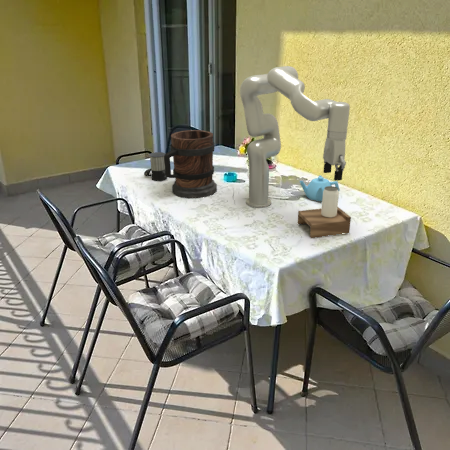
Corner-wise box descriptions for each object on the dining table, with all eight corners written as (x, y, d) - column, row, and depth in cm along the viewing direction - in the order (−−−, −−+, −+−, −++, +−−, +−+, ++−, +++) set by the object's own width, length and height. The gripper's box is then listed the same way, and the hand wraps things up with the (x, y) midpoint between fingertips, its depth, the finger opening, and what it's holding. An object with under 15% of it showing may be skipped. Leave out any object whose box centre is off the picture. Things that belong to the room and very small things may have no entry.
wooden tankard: (225, 190, 230) (225, 134, 217) (183, 205, 211) (179, 145, 199) (196, 180, 245) (194, 127, 233) (154, 193, 227) (149, 137, 214)
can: (325, 210, 187) (327, 184, 182) (339, 214, 183) (342, 187, 178) (318, 215, 182) (320, 188, 177) (332, 219, 179) (335, 192, 174)
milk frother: (164, 182, 243) (162, 156, 237) (138, 180, 246) (135, 155, 240) (172, 174, 256) (170, 150, 250) (146, 173, 259) (144, 149, 253)
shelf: (297, 223, 190) (298, 207, 187) (332, 219, 193) (334, 204, 190) (311, 238, 176) (312, 221, 173) (349, 233, 180) (350, 217, 177)
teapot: (318, 205, 209) (320, 184, 204) (297, 196, 220) (298, 176, 216) (340, 198, 216) (342, 178, 212) (319, 190, 228) (320, 170, 223)
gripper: (318, 130, 175) (315, 170, 183) (338, 140, 160) (333, 184, 167) (335, 129, 177) (331, 169, 184) (356, 139, 162) (350, 182, 169)
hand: (332, 176), depth 176 cm, fingers open, 9 cm apart
